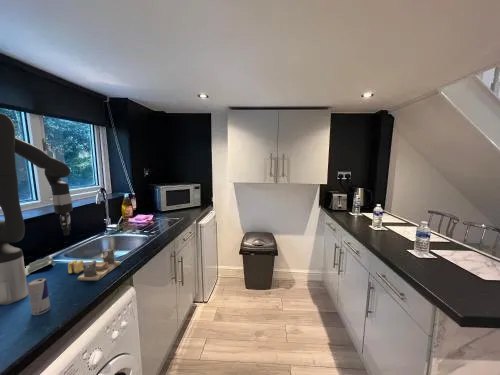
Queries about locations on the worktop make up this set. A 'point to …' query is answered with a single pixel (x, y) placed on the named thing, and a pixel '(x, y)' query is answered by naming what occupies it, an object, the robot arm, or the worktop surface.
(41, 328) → the worktop surface
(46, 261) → the metal bracket
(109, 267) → the coupling base
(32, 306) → the energy drink
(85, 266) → the shafts
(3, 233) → the robot arm
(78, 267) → the slotted brass block
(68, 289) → the worktop surface
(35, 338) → the worktop surface
